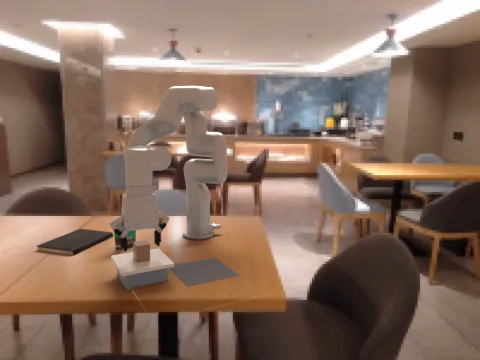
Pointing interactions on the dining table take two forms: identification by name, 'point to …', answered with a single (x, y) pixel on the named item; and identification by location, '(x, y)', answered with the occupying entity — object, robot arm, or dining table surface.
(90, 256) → the dining table surface
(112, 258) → the lid
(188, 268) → the mat
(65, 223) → the dining table surface
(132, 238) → the food container
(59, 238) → the hardcover book
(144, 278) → the dish
